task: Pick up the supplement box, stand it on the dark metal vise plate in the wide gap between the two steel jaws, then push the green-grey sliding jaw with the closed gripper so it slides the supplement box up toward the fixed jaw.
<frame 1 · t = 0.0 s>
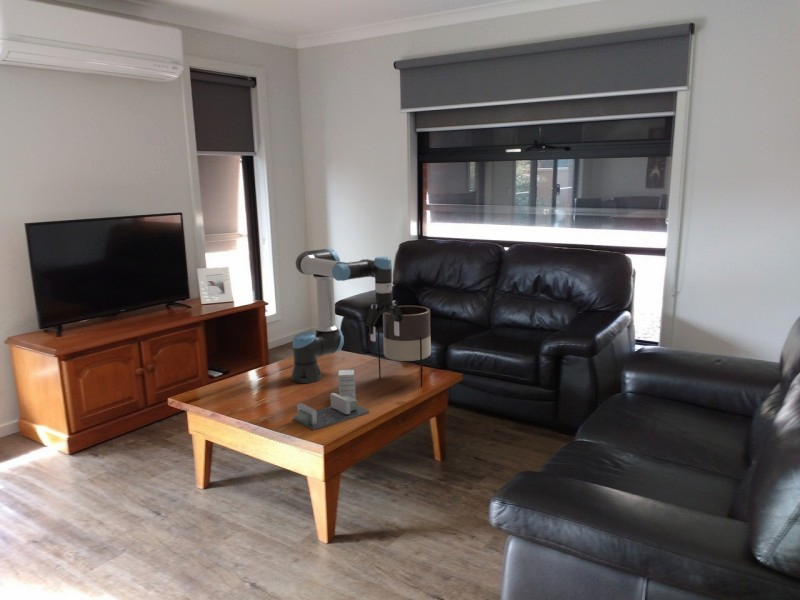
hand: (385, 338, 272), 28 cm above the table, fingers open, 13 cm apart
planter: (410, 379, 302), on the table
sliding jaw: (345, 402, 260), point 4 cm above the table, slide at 0.0 cm
vise: (331, 415, 257), on the table
supplement box: (347, 398, 277), on the table
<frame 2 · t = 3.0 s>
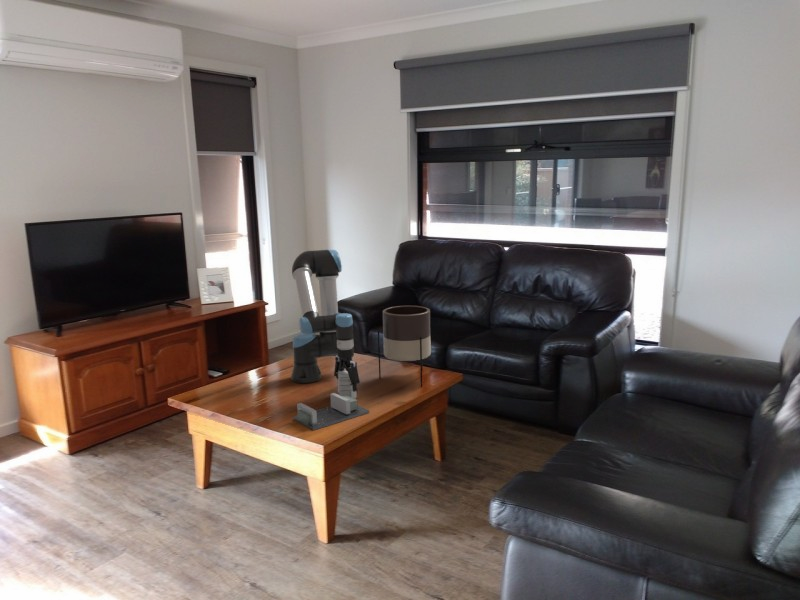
hand: (347, 394, 277), 2 cm above the table, fingers closed on supplement box, 10 cm apart
supplement box: (347, 398, 277), on the table, touching gripper
everything else where it was.
when the fingers open (4 cm above the table, at t = 9.1 s): supplement box stays where it is, resting on vise.
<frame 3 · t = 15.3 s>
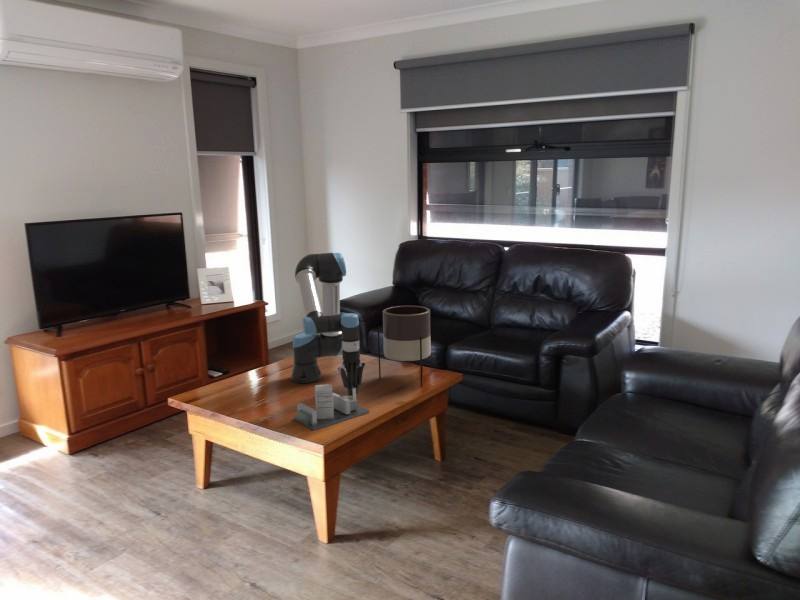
hand: (353, 401, 263), 3 cm above the table, fingers closed
sliding jaw: (344, 402, 260), point 4 cm above the table, slide at 0.1 cm, touching gripper
supplement box: (325, 416, 254), point 1 cm above the table, touching vise
everything else where it was.
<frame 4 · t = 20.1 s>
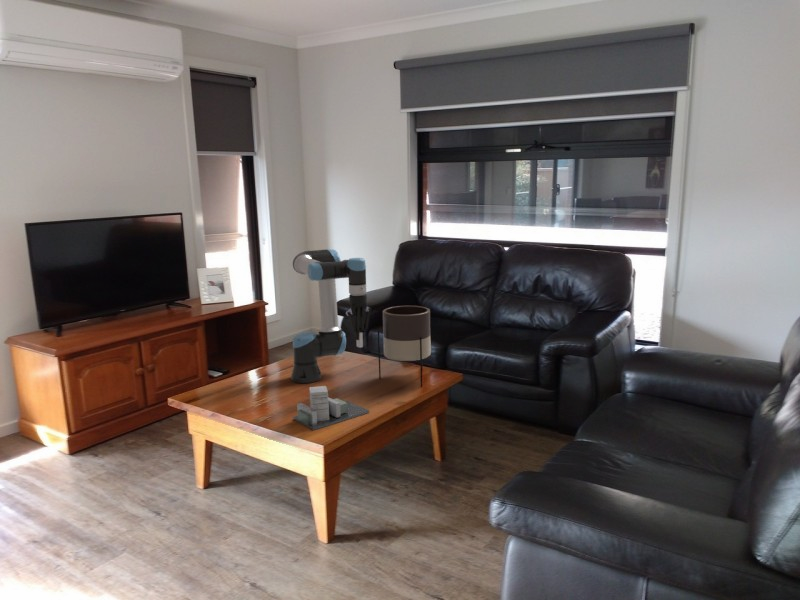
hand: (359, 346, 265), 26 cm above the table, fingers closed
sliding jaw: (335, 404, 257), point 4 cm above the table, slide at 5.0 cm, touching supplement box
supplement box: (319, 418, 252), point 1 cm above the table, touching sliding jaw, vise
everything else where it was.
at the end: supplement box inside the target area on the vise (0.6 cm from its centre), point 0.8 cm above the vise's base; supplement box tilted 0°; sliding jaw slide at 5.0 cm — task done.
